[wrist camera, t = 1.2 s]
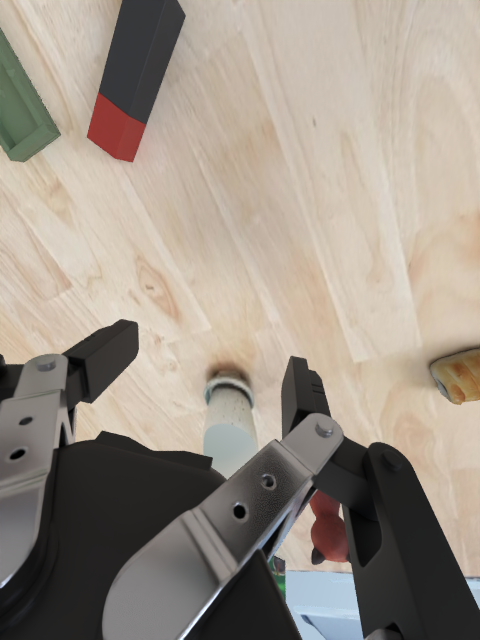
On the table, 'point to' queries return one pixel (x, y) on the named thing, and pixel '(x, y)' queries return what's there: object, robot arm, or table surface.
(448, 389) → the pastry
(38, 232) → the table surface
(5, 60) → the tray
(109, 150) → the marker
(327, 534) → the stuffed fox
